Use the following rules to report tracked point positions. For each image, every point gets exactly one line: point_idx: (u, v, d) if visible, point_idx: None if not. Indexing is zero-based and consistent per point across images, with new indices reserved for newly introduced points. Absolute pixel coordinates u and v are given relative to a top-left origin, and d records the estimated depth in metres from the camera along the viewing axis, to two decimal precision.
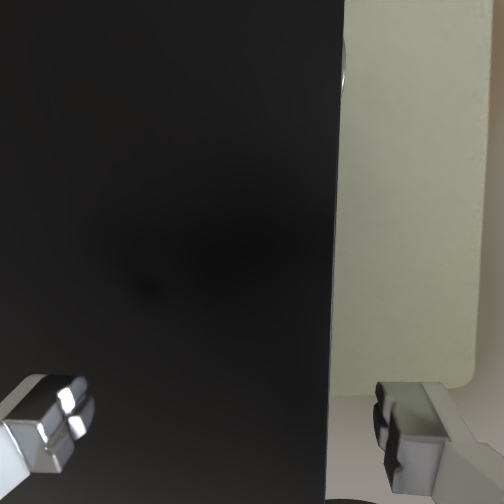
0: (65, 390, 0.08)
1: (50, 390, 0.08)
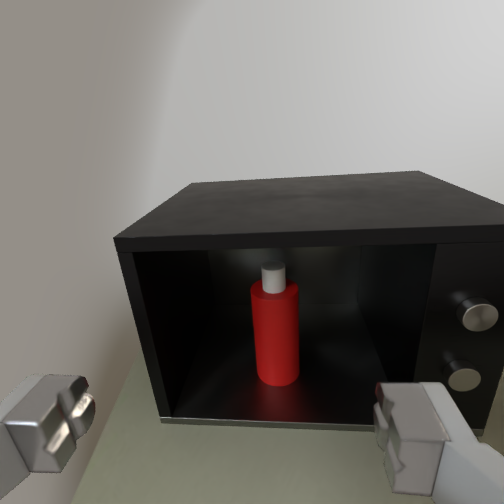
0: (64, 390, 0.08)
1: (50, 390, 0.08)
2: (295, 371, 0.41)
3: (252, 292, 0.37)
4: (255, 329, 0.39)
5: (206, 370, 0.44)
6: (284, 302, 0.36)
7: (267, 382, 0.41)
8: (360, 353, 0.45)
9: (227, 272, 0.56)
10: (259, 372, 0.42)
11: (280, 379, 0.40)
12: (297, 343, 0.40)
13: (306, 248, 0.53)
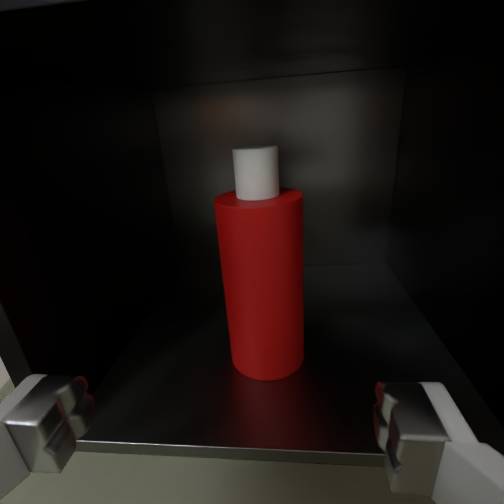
0: (64, 390, 0.08)
1: (50, 390, 0.08)
2: (297, 354, 0.23)
3: (216, 201, 0.20)
4: (224, 276, 0.21)
5: (147, 355, 0.26)
6: (276, 211, 0.18)
7: (247, 373, 0.23)
8: (403, 327, 0.27)
9: (197, 218, 0.39)
10: (233, 356, 0.24)
11: (270, 368, 0.22)
12: (300, 302, 0.22)
13: (312, 177, 0.36)
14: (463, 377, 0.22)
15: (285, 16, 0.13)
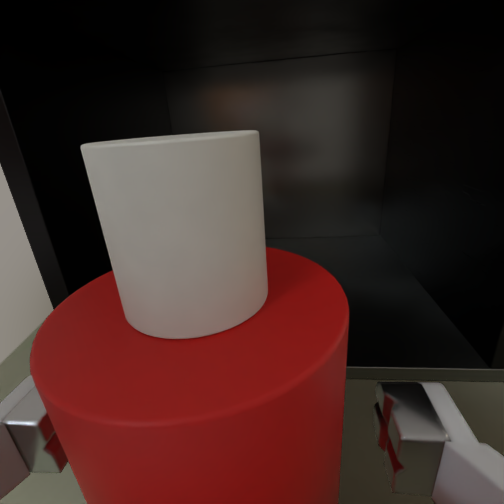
0: None
1: None
2: None
3: (46, 326, 0.06)
4: None
5: None
6: (246, 431, 0.04)
7: None
8: (392, 281, 0.30)
9: None
10: None
11: None
12: None
13: (311, 153, 0.39)
14: (443, 315, 0.25)
15: None
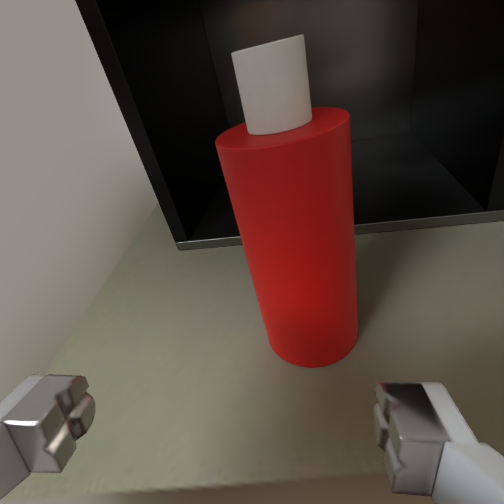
0: (65, 390, 0.08)
1: (50, 390, 0.08)
2: (349, 334, 0.18)
3: (218, 142, 0.13)
4: (244, 245, 0.16)
5: (227, 204, 0.38)
6: (308, 148, 0.11)
7: (287, 359, 0.19)
8: (417, 166, 0.35)
9: None
10: (269, 337, 0.19)
11: (315, 354, 0.17)
12: (352, 272, 0.16)
13: (341, 58, 0.41)
14: (456, 183, 0.30)
15: None
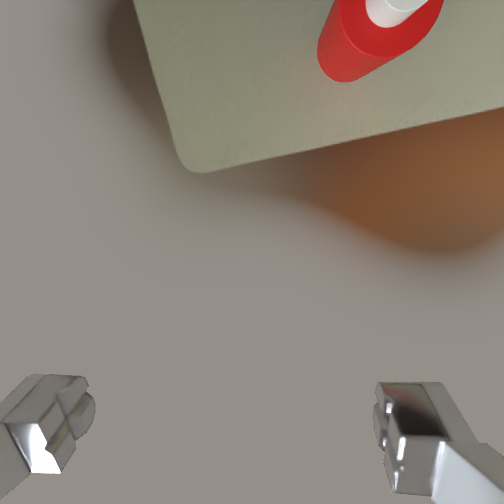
0: (64, 390, 0.08)
1: (50, 390, 0.08)
2: None
3: (343, 24, 0.18)
4: (332, 50, 0.23)
5: None
6: None
7: (333, 79, 0.30)
8: None
9: None
10: (322, 66, 0.29)
11: (353, 79, 0.29)
12: None
13: None
14: None
15: None
